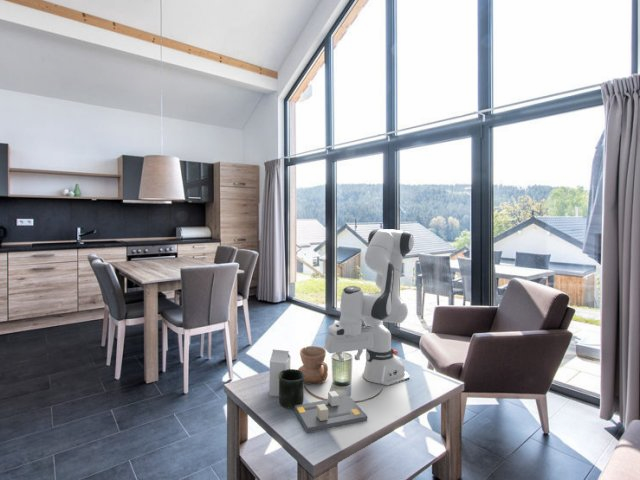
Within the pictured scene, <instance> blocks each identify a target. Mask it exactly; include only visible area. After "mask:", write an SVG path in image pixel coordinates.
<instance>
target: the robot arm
mask: <svg viewBox="0 0 640 480" xmlns="http://www.w3.org/2000/svg"><path fill="white" fill-rule="evenodd" d="M414 242H415V241H414V235H413V234H412V233H411V232H409V231H408V230H407V231H406V230H404V231H403V230H397V229H381V228H380V229H379V228H378V229H377V228H376V229H373V230H372V231H369V234H368V237H367V244H368V246H367V248H366V251H365V254H364V262H365V264H366V266H367V267H368V268H369V269H370V271H372V272H375V273H376V277H375V285H376V286H377V288H378V289H379V290H380V292H379V293H371V292H365V291H362V288H361V287H360V286H357V285H351V286H346V287H344V288H343V289H342V291H341V296H340V305H339V306H340V307H339V310H340V317H339V321H337V322H335V323H332V324H331V325H329V326H327V330H328V332H327V334H326V337H325V342H324V343H325V347H324V349H325V351H326V353H329V354H336V355H337V357H338V362H339V363H344V362H345V361H344V359H345V358H344V356H341V355H342V353H344V352H352V351H353V352H354V351H357V352H356V354H354V360H355V361H360V359H361V358H360V357H361V355H362V353H364V350H365V366H364V369H363V373H362V377H363V379H364V380H366V381H368V382H370V383H375V384H380V383H381V385H383V386H390V384H391V385H394V384H396V383H395V382H397V383H399V382H398V381H400V382H402V381H401V380H404V379H407V378H409V379H410V374H409V373H408V372H407V370H405V365H404V363H402V361H401V359H399V358H397V357H396V356H398V352H399V351H398V350H396V349H393V348H392V347H391V345H392V334H391V331H390V330H389V329H388V328H387V327H386V326H385V325H384V324H383V322H386V323H391V324H398V323H399V324H402V323H403V322H404V321H405V320H406V319H407V317H408V314H409V313H408V311H409V310H408V306H407V304H406V303H405V302H404V301H403V299H402V297H401V295H400V291H399V284H400V279H401V274H402V270H403V261H404V259H403V258H405V257H406V255H407V254H409V253H410V252H411V251H412V249H413V247H414V245H415V243H414ZM362 322H363V323H364V325H363V323H362ZM407 380H408V379H407ZM404 381H405V380H404ZM393 383H394V384H393Z"/></svg>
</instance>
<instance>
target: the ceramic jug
mask: <svg viewBox="0 0 640 480" xmlns="http://www.w3.org/2000/svg"><path fill="white" fill-rule="evenodd" d="M326 354H327V350H326V349H325V348H324V347H320V346H314V345H309V346H306V347H302V348H300V349H299V355H300V360H301V362H302V365H301V366H299V367H298V369H297V370H300V371H302V372H303V373H304V374H305V378H304V384H308V385H318V384H321V383H324V382H325V381H326V380H327V378H328V376H329V374H328V371H329V370H328V369H329V368H328V364H327V363H326V362H325V358H326Z"/></svg>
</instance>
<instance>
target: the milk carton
mask: <svg viewBox="0 0 640 480" xmlns="http://www.w3.org/2000/svg"><path fill="white" fill-rule="evenodd" d="M289 353H290V352H289V350H282V349H274V348H273V349H272V353H271V357H270V360H269V381H268V382H269V384H268V385H269V387H268V388H269V389H268V390H269V391H268V396H273V397H278V398H279V377H278V374H279V373H280V372H281V371H283V370H285V371H286V370H287V369H291V358H292V357H291V355H290V354H289Z"/></svg>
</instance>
